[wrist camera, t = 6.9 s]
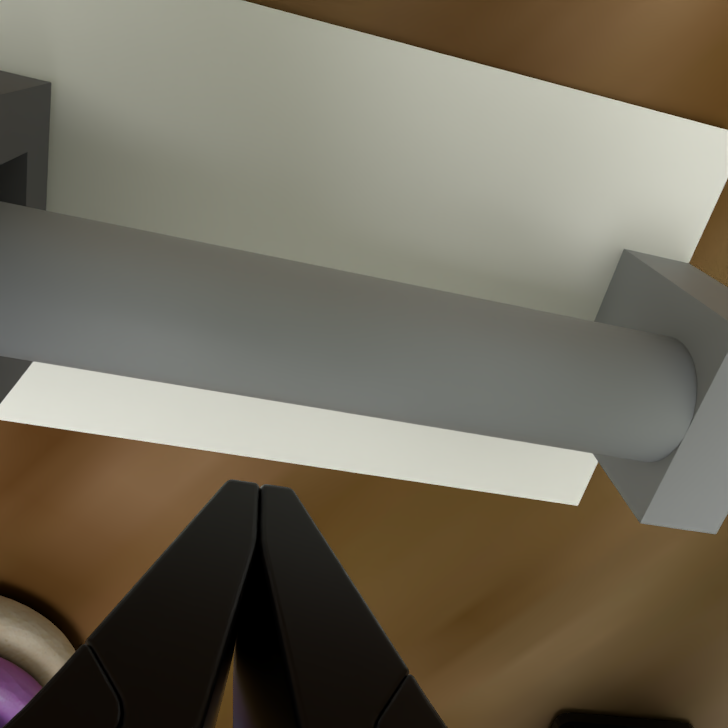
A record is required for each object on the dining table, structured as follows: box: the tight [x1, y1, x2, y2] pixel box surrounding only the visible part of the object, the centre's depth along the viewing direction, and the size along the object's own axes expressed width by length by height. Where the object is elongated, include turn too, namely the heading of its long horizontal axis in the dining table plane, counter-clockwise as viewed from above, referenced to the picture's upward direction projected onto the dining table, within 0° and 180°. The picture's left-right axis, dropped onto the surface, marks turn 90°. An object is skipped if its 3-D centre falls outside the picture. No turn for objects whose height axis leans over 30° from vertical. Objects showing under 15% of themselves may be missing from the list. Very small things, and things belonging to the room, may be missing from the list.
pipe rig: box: [0, 0, 728, 534], centre depth 16 cm, size 26×12×7 cm, turn 76°
